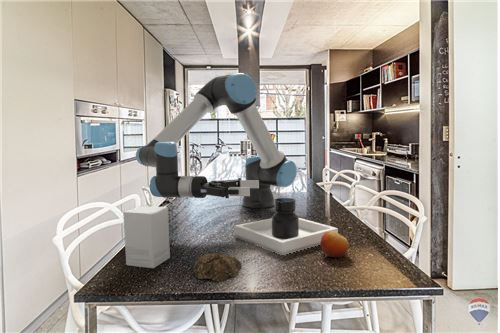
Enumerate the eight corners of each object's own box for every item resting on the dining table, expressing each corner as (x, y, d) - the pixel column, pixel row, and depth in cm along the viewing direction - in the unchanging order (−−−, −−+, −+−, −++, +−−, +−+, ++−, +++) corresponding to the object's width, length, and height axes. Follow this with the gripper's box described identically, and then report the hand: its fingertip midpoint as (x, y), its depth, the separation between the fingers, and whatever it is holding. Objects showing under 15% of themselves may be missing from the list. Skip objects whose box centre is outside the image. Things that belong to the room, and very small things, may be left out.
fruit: (310, 247, 113) (324, 224, 113) (333, 259, 114) (346, 236, 114) (317, 256, 105) (332, 231, 105) (341, 269, 106) (356, 245, 106)
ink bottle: (297, 231, 131) (297, 197, 130) (302, 239, 122) (302, 202, 121) (269, 232, 131) (269, 197, 129) (271, 239, 122) (271, 202, 121)
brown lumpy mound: (198, 263, 106) (198, 245, 105) (243, 264, 105) (242, 246, 104) (186, 282, 93) (186, 262, 93) (237, 283, 92) (236, 263, 91)
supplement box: (171, 257, 110) (169, 206, 108) (153, 269, 101) (151, 213, 100) (144, 254, 113) (142, 204, 111) (124, 265, 104) (122, 211, 102)
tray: (287, 225, 143) (287, 214, 143) (337, 240, 124) (337, 228, 124) (235, 237, 129) (234, 225, 129) (282, 256, 110) (282, 242, 109)
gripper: (206, 190, 144) (262, 191, 139) (179, 205, 120) (245, 207, 115) (206, 171, 143) (261, 171, 138) (178, 182, 119) (244, 183, 114)
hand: (254, 187), depth 126 cm, fingers open, 13 cm apart
